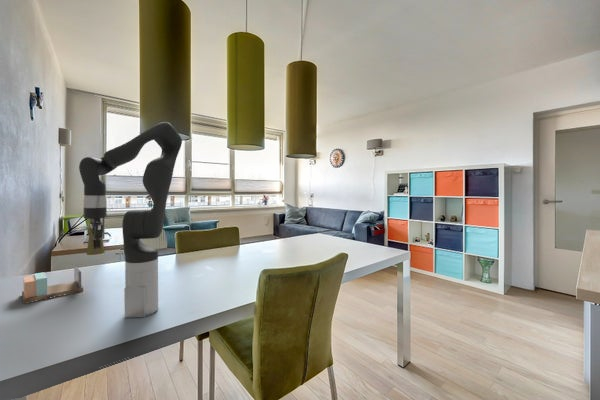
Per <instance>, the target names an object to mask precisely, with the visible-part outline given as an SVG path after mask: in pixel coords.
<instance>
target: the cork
mask: <svg viewBox="0 0 600 400" xmlns="http://www.w3.org/2000/svg"><path fill="white" fill-rule="evenodd" d="M93 231H94V232H95V230H94V229H93ZM86 232H87V235H88V240H87V241H88V242H87V248H86V255H88V256H93V255H94V256H95V255H101V254H105V246H104V239H103V237H102V238H101V239H100V246H101V247H100V248H96V249H94V243H93V234H91V228H89V229H87V231H86ZM97 236H99V234H97Z"/></svg>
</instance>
